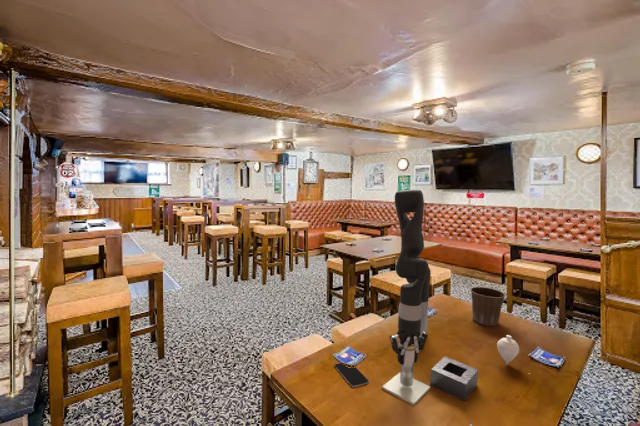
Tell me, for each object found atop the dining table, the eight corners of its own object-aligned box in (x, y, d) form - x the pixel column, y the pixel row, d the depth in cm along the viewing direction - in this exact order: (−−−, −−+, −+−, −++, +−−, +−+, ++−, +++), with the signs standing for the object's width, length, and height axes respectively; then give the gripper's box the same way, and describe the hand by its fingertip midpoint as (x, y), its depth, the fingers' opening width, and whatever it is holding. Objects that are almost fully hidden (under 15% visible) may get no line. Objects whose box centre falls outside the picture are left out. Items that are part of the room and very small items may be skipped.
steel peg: (404, 387, 108) (405, 348, 107) (396, 379, 113) (398, 341, 111) (416, 385, 109) (418, 346, 108) (408, 377, 114) (410, 340, 113)
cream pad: (382, 388, 111) (382, 386, 111) (399, 374, 120) (399, 372, 120) (413, 405, 103) (414, 403, 103) (430, 388, 111) (430, 386, 111)
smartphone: (349, 360, 128) (370, 381, 114) (349, 362, 128) (370, 384, 114) (333, 364, 125) (352, 386, 111) (333, 366, 125) (352, 389, 111)
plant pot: (503, 319, 171) (505, 290, 169) (502, 331, 157) (505, 299, 156) (470, 312, 179) (472, 284, 178) (466, 323, 166) (468, 293, 164)
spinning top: (506, 371, 123) (509, 341, 122) (491, 360, 130) (493, 332, 129) (522, 368, 125) (525, 339, 124) (506, 358, 132) (508, 330, 131)
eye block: (430, 385, 114) (430, 369, 113) (443, 371, 122) (444, 356, 122) (464, 401, 105) (465, 384, 105) (476, 385, 114) (478, 369, 113)
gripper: (396, 321, 103) (394, 371, 105) (434, 317, 107) (431, 365, 109) (385, 312, 110) (383, 359, 112) (421, 309, 114) (419, 354, 116)
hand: (407, 362), depth 110 cm, fingers closed on steel peg, 4 cm apart
